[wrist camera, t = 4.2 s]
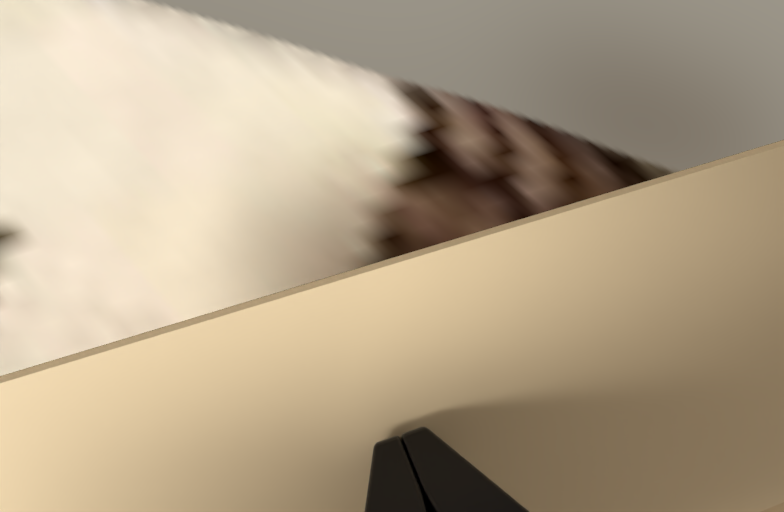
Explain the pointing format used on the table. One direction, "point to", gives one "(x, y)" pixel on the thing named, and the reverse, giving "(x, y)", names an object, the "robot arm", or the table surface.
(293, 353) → the flap
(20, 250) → the table surface
